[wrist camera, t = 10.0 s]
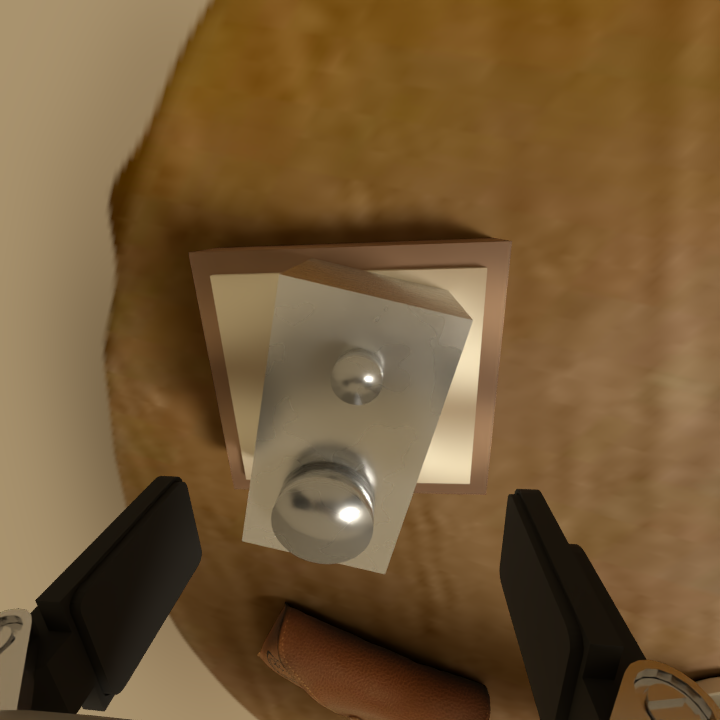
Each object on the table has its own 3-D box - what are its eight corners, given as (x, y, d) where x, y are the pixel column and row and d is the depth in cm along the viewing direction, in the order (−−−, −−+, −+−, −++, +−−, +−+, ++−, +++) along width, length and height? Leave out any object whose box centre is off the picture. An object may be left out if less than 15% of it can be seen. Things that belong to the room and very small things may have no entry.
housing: (448, 290, 16) (482, 331, 10) (386, 490, 20) (384, 602, 14) (312, 258, 16) (266, 279, 10) (276, 465, 20) (230, 566, 14)
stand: (474, 460, 23) (487, 499, 19) (252, 457, 24) (231, 494, 21) (492, 237, 18) (514, 241, 15) (217, 247, 19) (183, 253, 16)
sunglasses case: (249, 658, 31) (236, 726, 25) (287, 575, 32) (284, 618, 26) (435, 731, 33) (469, 812, 26) (464, 650, 34) (503, 708, 28)
